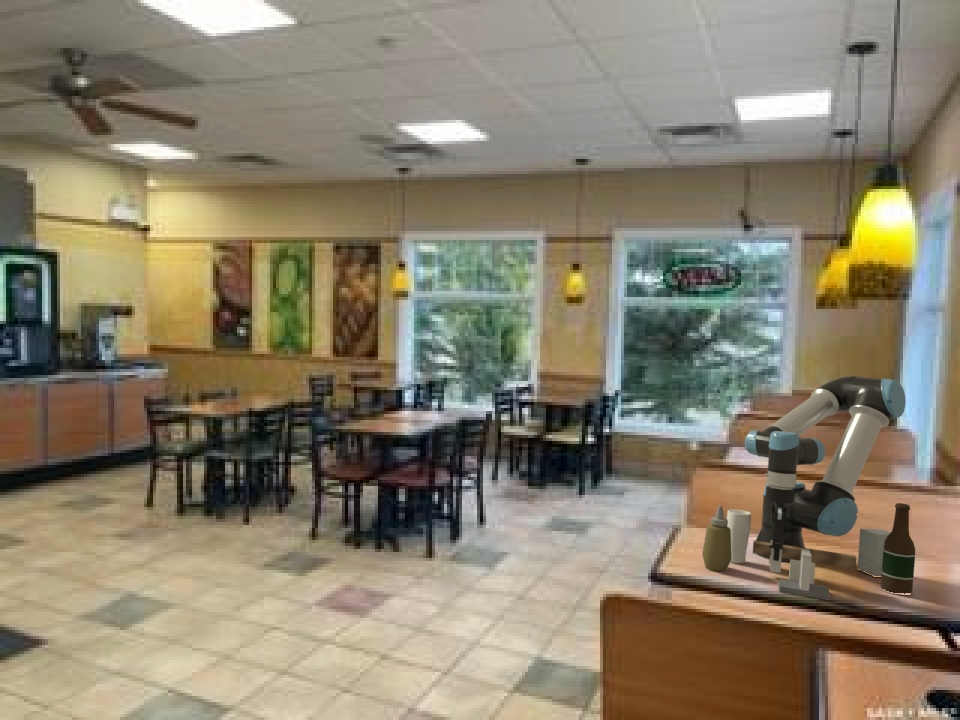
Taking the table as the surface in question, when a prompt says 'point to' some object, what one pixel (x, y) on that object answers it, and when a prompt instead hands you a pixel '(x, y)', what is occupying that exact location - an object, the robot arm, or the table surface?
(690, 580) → the table surface
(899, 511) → the beer bottle
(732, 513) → the drinking glass
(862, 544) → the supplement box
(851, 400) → the robot arm
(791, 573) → the block
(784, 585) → the ridge stand
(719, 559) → the squeeze bottle
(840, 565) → the walnut bar
